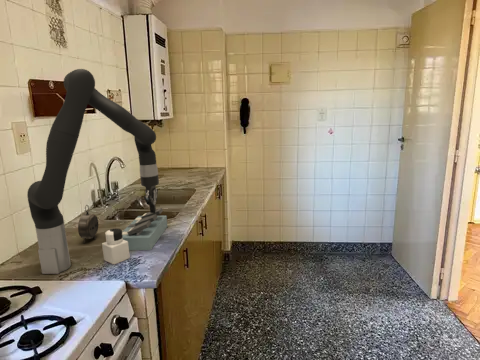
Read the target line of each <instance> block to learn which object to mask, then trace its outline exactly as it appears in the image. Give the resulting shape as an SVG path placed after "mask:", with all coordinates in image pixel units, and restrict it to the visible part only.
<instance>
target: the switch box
mask: <svg viewBox="0 0 480 360" xmlns="http://www.w3.org/2000/svg"><path fill="white" fill-rule="evenodd" d="M142 216H143V215H138V216H137V217H136V218H135V219H134V220H133V221H132V222H131V223H129V225H127V226H126V228H124V229H123V230H122V236H123V240H125V241H128V246H129V251H151V250H153V248H154V246H155V245H156V244H157V242H158V241H159V240H160V238H161V236H162V235H163V234H164V232H165V230H166V229H167V228H168V216H167V215H157V218H156V220H155V221H153V222H151V224H150V226H149V227H148V228H146V229H144V230H141V231H139V232H137V233H134V234H132V235H130V236H129V235H128V233H127V232H128V231H129V230H130V229H131V228H133V227H135V223H136V222H137V221H138V220H140V219H142V218H141V217H142Z"/></svg>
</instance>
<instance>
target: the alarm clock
mask: <svg viewBox="0 0 480 360" xmlns="http://www.w3.org/2000/svg"><path fill="white" fill-rule="evenodd" d="M89 207H90V206H89V205H88V204H86V205H85V206H84V211H85V213H82V215H81V216H80V219H79V221H78V225H77V226H78V227H77V231H78V235H79V237H80V238H81V239H83V244H85V243H86V241H87V239H93V238H94V240H97V238H96V235H97V233H98V231H99V220H98V219H99V218H98V217H97V215H96V214H95V213H89V211H90V210H89Z"/></svg>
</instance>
